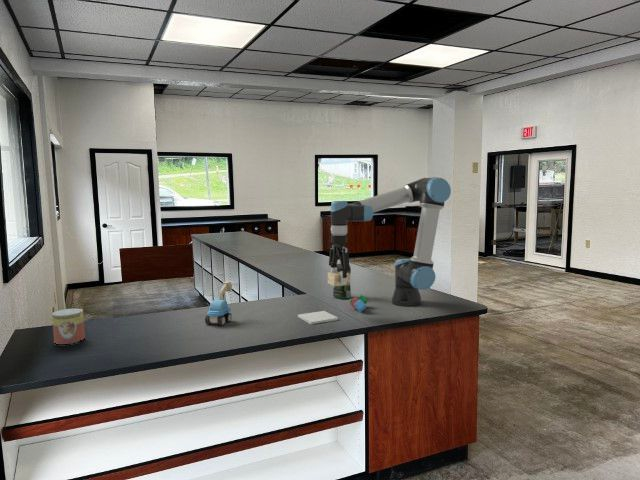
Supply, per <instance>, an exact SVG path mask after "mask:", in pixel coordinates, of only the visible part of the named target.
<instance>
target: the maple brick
mask: <svg viewBox="0 0 640 480" xmlns="http://www.w3.org/2000/svg"><path fill="white" fill-rule="evenodd" d="M327 284H329V285H331V286H333V287H334V286H345V285H341V272H331V271H329V272H327ZM347 285H350V286H351V273H350V274H348V273H347Z"/></svg>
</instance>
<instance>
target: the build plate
mask: <svg viewBox="0 0 640 480" xmlns="http://www.w3.org/2000/svg"><path fill="white" fill-rule="evenodd" d="M297 318H299V319H301V320H303V321H304V322H306V323H308V324H309V325H315V324H320V323H326V322H327V323H328V322H333V321H339V317H338V316H336V315H333V314H331V313H330V312H327V311H325V310H320V311H314V312H307V313H301V314H297Z"/></svg>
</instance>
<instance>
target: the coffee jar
mask: <svg viewBox="0 0 640 480" xmlns="http://www.w3.org/2000/svg"><path fill="white" fill-rule="evenodd" d="M341 270H342V268H341V263H337V272H341ZM347 273H348V274H350V275H351V273H352V269H351V267H350V270H347ZM332 291H333V292H332V293H333V294H332V295H333V298H335V299H340V300H348V299H351V297H352V289H351V284H350V285H345V286H333V290H332Z"/></svg>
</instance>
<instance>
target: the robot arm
mask: <svg viewBox="0 0 640 480" xmlns="http://www.w3.org/2000/svg"><path fill="white" fill-rule="evenodd" d="M451 188H452V187H451V185H450V183H449V182H448V181H447V180H446V179H445V178H443V177H438V176H437V177H436V176H433V177H423V178H420V179H418V180H415V181H412V182H409V183H406V184H404V185H403V187H401V188H398V189H395V190H391V191H388V192H384V193H380V194H377V195H375V196H372V197H369V198H364V199H363V200H362V199H361V200H359V201H354V202H351V203H348V201H346V200H333V201H331V203H330V204H331V205H330V233H331V235H330V243H332V244H331V245H329V257H328V258H329V259H328V266H330V268H331V269H330V270H331V271H330V272H337V264H338V261H339V262H340V263H339V264H341V268H342V270H341V285H347V270H350V268H351V265H350V255H349V251H350V249H349V247H346V245H345V244H347V243H348V235H347V234H348V222H370V221H372V219H373V216H374V215H373V214H374V213H377V212H380V211H383V210H386V209H389V208H392V207H393V208H394V207H395V206H400V205H402V204H404V203H409V204H412V203H417V202H419V204H418V205H420V207H421V211H420V216H419V222H418V228H417V233H416V240H415V246H414V250H413V256H411V257H410V258H398V259H396V260H395V265H394V278H395V279H394V281H395V282H394V284H395V285H394V290H393V294H392V297H391V303H392V304H393V305H396V306H400V307H417V306H419V305H421V304H422V297H421V296H422V295H421V293H420V290H421V291H424V290H427V289H429V288H431V287H432V286H433V284H434V283H435V281H436V272H435V271H434V269H433V268H434V261H433V260H432V256H433V251H434V246H435V240H436V239H435V238H436V234H437V230H438V222H439V217H440V212H441V210H442V209H444V207H445V202H447V200H448V199H450V197H451V192H452V189H451Z"/></svg>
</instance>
